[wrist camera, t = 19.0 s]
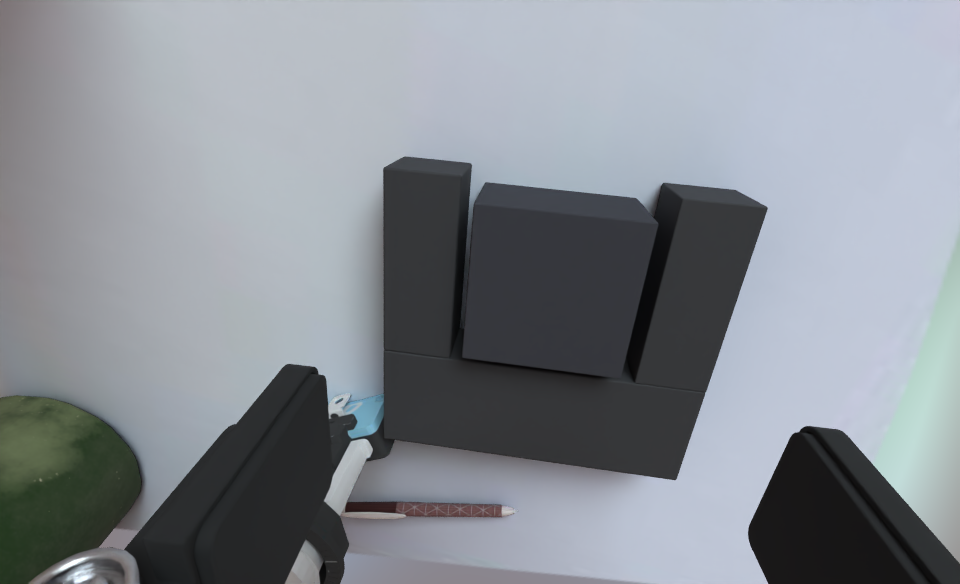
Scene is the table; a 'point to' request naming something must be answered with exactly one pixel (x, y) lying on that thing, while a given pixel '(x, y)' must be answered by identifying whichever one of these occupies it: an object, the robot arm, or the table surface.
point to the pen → (422, 510)
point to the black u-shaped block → (543, 392)
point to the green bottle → (58, 484)
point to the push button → (341, 486)
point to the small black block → (555, 278)
